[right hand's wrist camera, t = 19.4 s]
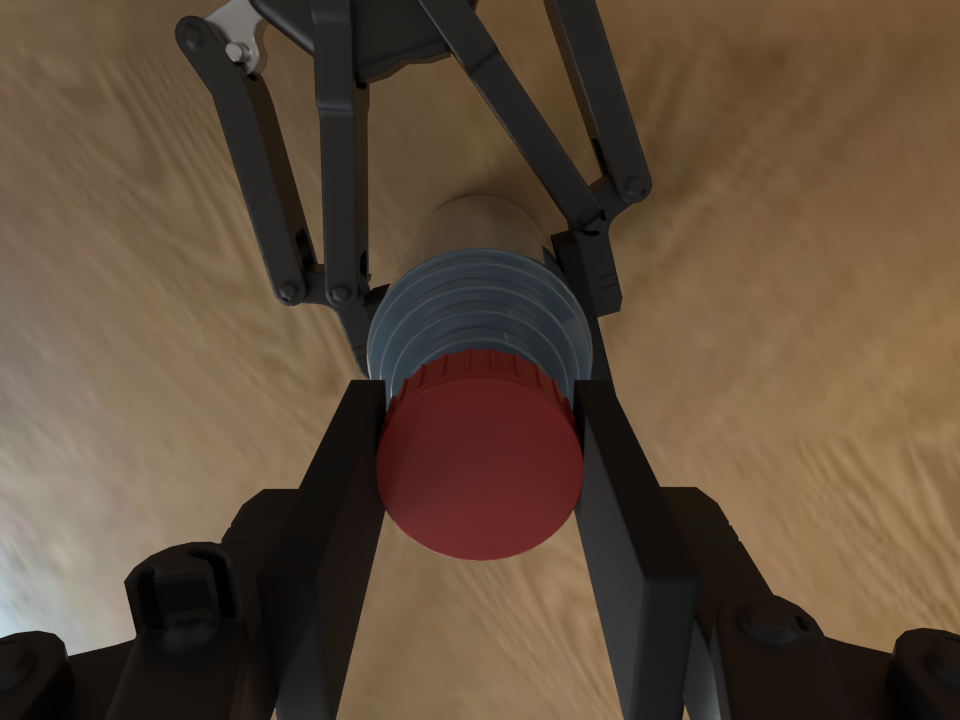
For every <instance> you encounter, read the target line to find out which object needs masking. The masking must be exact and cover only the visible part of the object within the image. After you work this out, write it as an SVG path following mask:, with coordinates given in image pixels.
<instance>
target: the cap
mask: <svg viewBox="0 0 960 720" xmlns="http://www.w3.org/2000/svg"><path fill="white" fill-rule="evenodd" d="M378 444H379V445H378V448H377V451H376V468H377V484H378V493H379V496H380V499H381V501H382V503H383V505H384V507H385V509H386V511H387V513H388V514H389V516H390V517H391V519H392V520H393V521H394V522H395V524H396V525H397V526H398V527H399V528H400V529H401V530H402V531H403V532H404V533H405V534H406V535H407V536H409V537H410V538H411V539H413V540H414V541H416V542H417V543H418V544H420V545H422V546H424V547H426V548H427V549H429V550H431V551H434V552H436V553H439V554H442V555H445V556H448V557H452V558H456V559H463V560H473V561H486V560H497V559H502V558H507V557H511V556H514V555H518V554H520V553H523V552H525V551H528V550H530V549H532V548H534V547H535V546H537V545H539V544H541V543H542V542H544V541H545V540H546V539H548V538H549V537H551V536H552V535H553V534H554V533H555V532H556V531H557V530H558V529H559V528H560V527H561V526H562V525H563V524H564V523H565V521H566V520H567V519H568V518H569V516H570V514H571V513H572V511H573V509H574V508H575V506H576V503H577V501H578V499H579V497H580V493H581V490H582V478H583V461H584V458H583V452H582V447H581V439H580V436H579V433H578V429H577V426H576V421H575V418H574V415H573V412H572V408H571V405H570V402H569V399H568V397H564V395H563V394H562V392H561V391H560V389H559V388H558V385H557V381H556V380H555V379H553V380H551V378H550V377H549V376H548V375H546V374H545V373H544V372H543V371H542V370H540V367H539V365H538V364H535V365H533V364H532V363H530V362H528V361H526V360H523V359H521V358H519V357H518V354H516V353H514V355H511V354H508V353H504V352H498V351H495V350H494V348H490V350H470V348H466V351H461V352H456V353H452V354H449V355H446V353H443V354H442V357H440V358H438V359H436V360H434V361H432V362H429V363H428V364H426V365H425V364H424V363H423V364H421V367H420V369H419V370H418V371H416V372H415V373H414V374H413V375H412V376H411V377H409V379H407V378H405V379H404V380H403V384H402V386H401V388H400V390H399V391H398V393H397V394H396V396H392V397H391V400H390V403H389V406H388V409H387V413H386V416H385V419H384V424H383V427H382V430H381V433H380V437H379V440H378Z"/></svg>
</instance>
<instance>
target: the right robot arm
mask: <svg viewBox="0 0 960 720" xmlns="http://www.w3.org/2000/svg"><path fill="white" fill-rule="evenodd" d="M386 413H387V402H386V385H385V380H351V381H350V383H349V386H348V388H347V390H346V392H345V394H344V396H343V398H342V400H341V402H340V404H339V406H338V408H337V410H336V412H335V414H334V417H333V419H332V421H331V423H330V425H329V427H328V429H327V431H326V433H325V435H324V437H323V439H322V441H321V443H320V445H319V447H318V450H317V452H316V454H315V456H314V458H313V460H312V462H311V464H310V466H309V468H308V470H307V472H306V474H305V476H304V478H303V481H302V483H301V485H300V487H299V489H263V490H262V491H260V492H259V493H258V494H256V495H255V496H254V497H252V498H251V499H250V500H249V501H247V502H246V503H245V504H243V505H242V507H241V508H240V510H239V512H238V513H237V515H236V517H235V518H234V520H233V521H232V523H231V528H228V530H227V531H226V533H225V535H224V536H223V538H222V542H221V543H219V544H217V543H213V542H190V543H185V544H181V545H177V546H172V547H169V548H167V549H165V550H162V551H160V552H158V553H156V554H153V555H151V556H150V557H148V558H147V559H145V560H144V561H143V562H141V563H140V564H139V565H137V566H136V567H135V568H134V569H133V570H132V571H131V573H130V574H129V575H128V577H127V578H126V579H125V581H124V584H125V588H126V592H127V596H128V601H129V605H130V609H131V613H132V617H133V621H134V626H135V630H136V634H137V635H136V637H135V639H133V640H131V641H127V642H124V643H121V644H118V645H114V646H110V647H106V648H101V649H97V650H93V651H89V652H84V653H80V654H76V655H72V656H68V654H67V651H66V647H65V644H64V642H63V641H62V640H61V639H60V638H59V637H57V636H56V635H55V634H53V633H48V632H43V631H30V632H21V633H15V634H12V635H9V636H6V637H3V638H0V720H271V717H272V714H273V711H274V708H276V714H277V720H336V716H337V712H338V707H339V703H340V699H341V695H342V691H343V686H344V682H345V678H346V674H347V670H348V665H349V661H350V657H351V653H352V649H353V644H354V640H355V636H356V632H357V628H358V623H359V619H360V615H361V611H362V607H363V602H364V598H365V594H366V590H367V585H368V581H369V577H370V573H371V569H372V564H373V560H374V556H375V552H376V548H377V543H378V539H379V535H380V531H381V527H382V522H383V518H384V514H385V510H386V509H385V507H384V505H383V503H382V501H381V499H380V496H379V493H378V484H377V468H376V451H377V448H378V445H379V444H378V440H379V437H380V433H381V430H382V427H383V424H384V419H385V416H386ZM573 415H574V418H575V421H576V426H577V429H578V433H579V436H580V439H581V447H582V452H583V458H584V461H583V478H582V490H581V493H580V497H579V499H578V501H577V503H576V506H575V508H574V512H575V516H576V520H577V524H578V528H579V533H580V537H581V541H582V545H583V549H584V554H585V558H586V562H587V566H588V570H589V575H590V579H591V583H592V587H593V591H594V596H595V600H596V604H597V608H598V612H599V617H600V621H601V625H602V629H603V633H604V638H605V642H606V646H607V650H608V654H609V659H610V663H611V667H612V671H613V676H614V680H615V684H616V688H617V692H618V697H619V701H620V705H621V709H622V713H623V718H624V720H682V718H683V712H684V705H685V706H686V709H687V712H688V715H689V718H690V720H960V635H957V634H954V633H951V632H948V631H945V630H937V629H929V628H919V629H914V630H909V631H905V632H904V633H903V634H902V635H901V636H900V637H899V638H898V639H897V640H896V642H895V645H894V649H893V652H892V654H891V653H887V652H883V651H878V650H874V649H870V648H865V647H861V646H857V645H853V644H848V643H844V642H841V641H838V640H835V639H831V638H828V637H826V636H824V634H823V632H822V630H821V629H820V627H819V626H818V624H817V623H816V621H815V620H814V618H812V617H811V616H810V615H809V614H808V613H806V612H805V611H804V610H803V609H802V608H800V607H799V606H798V605H796V604H794V603H792V602H790V601H788V600H786V599H784V598H782V597H780V596H776V595H773V593H772V591H771V590H770V588H769V587H768V585H767V583H766V582H765V580H764V578H763V577H762V575H761V573H760V572H759V570H758V569H757V567H756V565H755V564H754V562H753V560H752V559H751V557H750V555H749V554H748V552H747V551H746V549H745V547H744V546H743V544H742V542H741V541H739V540H738V536H737V534H736V533H735V531H734V529H733V528H732V526H731V525H729V521H728V520H727V518H726V516H725V515H724V513H723V511H722V510H721V508H720V506H719V505H718V503H717V502H715V501H714V500H713V499H711V498H710V497H709V496H707V495H706V494H705V493H703V492H702V491H701V490H699V489H698V488H697V487H660V486H659V484H658V481H657V479H656V477H655V475H654V473H653V471H652V469H651V467H650V465H649V463H648V461H647V459H646V457H645V455H644V453H643V450H642V448H641V446H640V444H639V442H638V440H637V438H636V436H635V434H634V432H633V430H632V428H631V426H630V424H629V422H628V419H627V417H626V415H625V413H624V411H623V409H622V407H621V405H620V403H619V401H618V399H617V397H616V395H615V393H614V391H613V388H612V386H611V384H610V382H609V380H574V395H573Z"/></svg>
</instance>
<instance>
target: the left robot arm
mask: <svg viewBox="0 0 960 720" xmlns="http://www.w3.org/2000/svg"><path fill="white" fill-rule="evenodd" d="M543 1H544V5H545V9H546V12H547V15H548V18H549V21H550V24H551V27H552V30H553V33H554V36H555V39H556V42H557V45H558V48H559V50H560V53H561V56H562V59H563V62H564V65H565V68H566V71H567V74H568V77H569V80H570V83H571V86H572V89H573V92H574V94H575V97H576V100H577V103H578V106H579V109H580V112H581V115H582V118H583V121H584V124H585V127H586V130H587V133H588V136H589V139H590V141H591V144H592V147H593V150H594V153H595V156H596V159H597V162H598V165H599V168H600V171H601V174H602V177H601V178H599V179H598V180H597V181H595V182H594V183H593V184H591V185H590V186H588V185H587V184H586V182H585V181H584V179H583V178H582V176H581V175H580V173H579V172H578V170H577V169H576V167H575V166H574V164H573V163H572V161H571V160H570V158H569V157H568V155H567V154H566V152H565V151H564V149H563V148H562V146H561V145H560V143H559V142H558V140H557V139H556V137H555V135H554V134H553V132H552V131H551V129H550V128H549V126H548V125H547V123H546V122H545V120H544V119H543V117H542V116H541V114H540V113H539V111H538V110H537V108H536V107H535V105H534V104H533V102H532V101H531V99H530V98H529V96H528V95H527V93H526V92H525V90H524V89H523V87H522V86H521V84H520V83H519V81H518V80H517V78H516V77H515V75H514V73H513V72H512V70H511V69H510V67H509V66H508V64H507V63H506V61H505V60H504V58H503V57H502V55H501V54H500V52H499V50H498V48H497V46H496V45H495V43H494V41H493V40H492V38H491V37H490V35H489V34H488V32H487V31H486V29H485V27H484V26H483V24H482V23H481V21H480V20H479V18H478V17H477V15H476V14H475V10H476V7H477V3H478V0H229V1H228V2H227V3H225V4H224V5H222V6H221V7H220V8H218V9H217V10H216V11H214V12H213V13H212V14H210V15H209V16H207V17H206V18H200V17H197V16H186V17H184V18H182V19H181V20H180V21H179V22H178V23H177V26H176V29H175V37H176V41H177V43H178V45H179V47H180V49H181V50H182V52H183V53H184V55H185V56H186V57H187V59H188V60H189V62H190V63H191V65H192V66H193V68H194V69H195V71H196V72H197V74H198V75H199V76H200V78H201V79H202V81H203V82H204V84H205V85H206V87H207V88H208V90H209V91H210V93H211V94H212V96H213V99H214V102H215V106H216V109H217V112H218V115H219V119H220V122H221V125H222V128H223V131H224V135H225V138H226V141H227V144H228V148H229V151H230V154H231V157H232V160H233V164H234V167H235V170H236V173H237V177H238V180H239V183H240V186H241V189H242V193H243V196H244V199H245V202H246V206H247V209H248V212H249V215H250V218H251V222H252V225H253V228H254V231H255V235H256V238H257V241H258V244H259V247H260V251H261V254H262V257H263V260H264V264H265V267H266V270H267V273H268V276H269V280H270V283H271V286H272V289H273V293H274V295H275V297H276V298H277V300H279V301H280V302H281V303H282V304H285V305H287V306H295V305H297V304H300V303H314V304H323V305H326V306H328V307H330V308H331V309H332V310H333V311H334V312H335V313H336V314H337V316H338V318H339V320H340V323H341V325H342V328H343V330H344V333H345V335H346V338H347V341H348V343H349V346H350V348H351V350H352V353H353V356H354V358H355V361H356V363H357V366H358V368H359V371H360V373H361V374H362V375H363V376H364V377H365V378H366V379H367V380H370V377H369V373H368V366H367V341H368V335H369V330H370V327H371V323H372V320H373V317H374V315H375V313H376V311H377V309H378V306H379V304H380V302H381V301H382V299H383V297H384V295H385V293H386V291H387V289H388V287H389V286H390V284H386V285H383V286H380V287H376V288H373V289H372V291H371V290H370V287H369V285H368V283H369V281H370V279H371V274H369V263H368V137H367V116H368V110H369V84H370V83H373V82H376V81H379V80H382V79H385V78H388V77H390V76H391V75H393V74H394V73H396V72H397V71H399V70H400V69H402V68H403V67H404V66H406V65H408V64H425V63H433V62H436V61H439V60H442V59H445V58H448V57H451V55H450V54H451V53H452V54H453V55H454V57H455V58H456V60H457V61H458V63H459V64H460V66H461V67H462V68H463V70H464V71H465V73H466V74H467V76H468V77H469V78H470V80H471V81H472V83H473V84H474V86H475V87H476V88H477V90H478V91H479V93H480V94H481V96H482V97H483V99H484V100H485V102H486V103H487V104H488V106H489V107H490V109H491V110H492V112H493V113H494V115H495V116H496V118H497V119H498V121H499V122H500V123H501V125H502V126H503V128H504V129H505V131H506V132H507V134H508V135H509V137H510V138H511V140H512V141H513V142H514V144H515V145H516V147H517V148H518V150H519V151H520V153H521V154H522V156H523V157H524V159H525V160H526V161H527V163H528V164H529V166H530V167H531V169H532V170H533V172H534V173H535V175H536V176H537V177H538V179H539V180H540V182H541V183H542V185H543V186H544V188H545V189H546V191H547V192H548V194H549V195H550V196H551V198H552V199H553V201H554V202H555V204H556V205H557V207H558V208H559V210H560V211H561V213H562V214H563V215H564V217H565V218H566V220H567V224H568V228H569V230H567V231H564V232H561V233H557V234H554V235H551V236H550V237H551V240H552V244H553V248H554V252H555V256H556V260H557V262H558V264H559V266H560V268H561V270H562V272H563V273H564V275H565V277H566V279H567V281H568V283H569V285H570V287H571V289H572V290H573V292H574V294H575V296H576V298H577V300H578V302H579V304H580V306H581V308H582V310H583V312H584V314H585V317H586V319H587V322H588V326H589V329H590V333H591V339H592V346H593V361H592V368H591V375H590V378H589V380H609V382H610V384H611V386H612V388H613V391H614V393H615V389H614V385H613V381H612V377H611V373H610V368H609V364H608V360H607V356H606V352H605V348H604V344H603V340H602V336H601V332H600V328H599V324H598V320H597V317H601V316H604V315H608V314H611V313H615V312H618V311H620V308H621V302H622V294H621V290H620V285H619V281H618V277H617V273H616V268H615V264H614V259H613V255H612V251H611V246H610V242H609V236H608V231H609V226H610V224H611V222H612V220H613V219H614V218H615V217H616V216H617V215H618V214H619V213H620V212H622V211H623V210H625V209H626V208H627V207H629V206H630V205H632V204H633V203H638V202H641V201H642V200H644V199H645V198H646V197H647V196H648V194H649V193H650V191H651V187H652V183H651V177H650V174H649V171H648V167H647V164H646V161H645V158H644V155H643V152H642V148H641V145H640V142H639V139H638V136H637V133H636V129H635V126H634V123H633V120H632V117H631V113H630V110H629V107H628V104H627V101H626V98H625V94H624V91H623V88H622V85H621V82H620V79H619V75H618V72H617V69H616V66H615V63H614V60H613V56H612V53H611V50H610V47H609V44H608V41H607V37H606V34H605V31H604V28H603V25H602V21H601V18H600V15H599V12H598V9H597V6H596V2H595V0H543ZM269 24H271V25H273V26H274V27H275V28H276V29H278V30H279V31H280V32H282V33H283V34H284V35H285V36H287V37H288V38H289V39H290V40H292V41H293V42H294V43H296V44H297V45H298V46H299V47H301V48H302V49H303V50H304V51H306V52H307V53H308V54H310V55H311V56H312V57H313V58H314V69H315V96H316V104H317V108H318V110H319V115H320V142H321V173H322V204H323V235H324V264H318V262H317V259H316V255H315V251H314V248H313V244H312V241H311V237H310V234H309V230H308V227H307V223H306V219H305V216H304V212H303V209H302V205H301V202H300V198H299V194H298V191H297V187H296V184H295V180H294V177H293V173H292V170H291V166H290V162H289V159H288V155H287V152H286V148H285V145H284V141H283V137H282V134H281V130H280V127H279V123H278V120H277V116H276V112H275V109H274V105H273V102H272V99H271V96H270V93H269V91H268V89H267V86H266V84H265V82H264V80H263V78H262V76H261V74H260V73H261V72H262V71H263V70H264V69H265V67H266V65H267V53H266V50H265V47H264V44H263V33H264V30H265V28H266V27H267V26H268V25H269ZM615 395H616V393H615Z"/></svg>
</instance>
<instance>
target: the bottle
mask: <svg viewBox="0 0 960 720" xmlns="http://www.w3.org/2000/svg"><path fill="white" fill-rule="evenodd" d="M466 348H470V350H490V348H494V350H495V351H498V352H504V353H508V354H511V355H514V353H516V354H518V357H519V358H521V359H523V360H526V361H528V362H530V363H532V364H533V365H535V364H538V365H539V367H540V370H542V371H543V372H544V373H545V374H546V375H548V376H549V377H550V378H551V380H553V379H555V380H556V381H557V385H558V388H559V389H560V391H561V392H562V394H563V395H564V397H568V399H569V402H570V405H571V408H572V412H573V395H574V380H589V378H590V375H591V368H592V361H593V346H592V339H591V333H590V329H589V326H588V322H587V319H586V317H585V314H584V312H583V310H582V308H581V306H580V304H579V302H578V300H577V298H576V296H575V294H574V292H573V290H572V289H571V287H570V285H569V283H568V281H567V279H566V277H565V275H564V273H563V272H562V270H561V268H560V266H559V264H558V262H557V260H556V258H555V256H554V254H553V253H552V251H551V249H550V247H549V245H548V243H547V241H546V239H545V237H544V236H543V234H542V232H541V230H540V228H539V227H538V225H537V224H536V222H535V221H534V220H533V219H532V218H531V216H530V215H529V214H527V213H526V212H525V211H524V210H523V209H521V208H520V207H519V206H517V205H516V204H514V203H512V202H510V201H508V200H505V199H502V198H500V197H495V196H491V195H469V196H464V197H460V198H457V199H454V200H452V201H450V202H448V203H446V204H444V205H442V206H441V207H439V208H438V209H437V210H435V211H434V212H433V213H432V214H431V215H430V216H429V217H428V218H427V219H426V221H425V222H424V223H423V225H422V226H421V228H420V229H419V231H418V233H417V235H416V237H415V239H414V240H413V242H412V244H411V246H410V248H409V250H408V252H407V254H406V255H405V257H404V259H403V261H402V263H401V265H400V267H399V269H398V271H397V272H396V274H395V276H394V278H393V280H392V282H391V284H390V286H389V287H388V289H387V291H386V293H385V295H384V297H383V299H382V301H381V302H380V304H379V306H378V309H377V311H376V313H375V315H374V317H373V320H372V323H371V327H370V330H369V335H368V341H367V366H368V373H369V377H370V380H385V385H386V402H387V409H388V406H389V403H390V400H391V397H392V396H396V394H397V393H398V391H399V390H400V388H401V386H402V384H403V380H404V379H405V378H407V379H409V377H411V376H412V375H413V374H414V373H415V372H416V371H418V370H419V369H420V367H421V364H423V363H424V364H425V365H426V364H428V363H429V362H432V361H434V360H436V359H438V358H440V357H442V354H443V353H446V355H449V354H452V353H456V352H461V351H466Z"/></svg>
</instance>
